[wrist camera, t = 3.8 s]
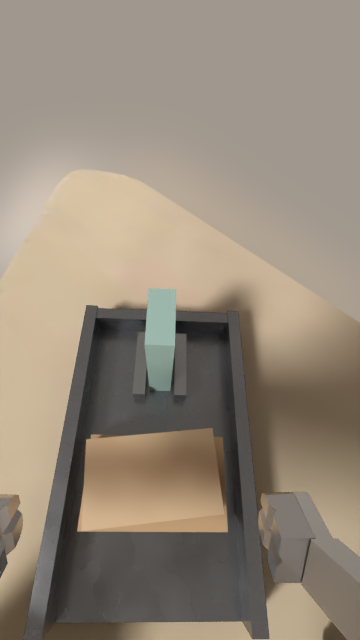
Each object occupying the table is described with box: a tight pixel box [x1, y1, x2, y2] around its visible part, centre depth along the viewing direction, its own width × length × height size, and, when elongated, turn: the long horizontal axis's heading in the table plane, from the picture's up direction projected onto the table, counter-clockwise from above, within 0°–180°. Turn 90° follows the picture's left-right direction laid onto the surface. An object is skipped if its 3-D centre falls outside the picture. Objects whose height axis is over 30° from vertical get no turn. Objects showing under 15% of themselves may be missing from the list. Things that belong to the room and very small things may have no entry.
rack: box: [23, 305, 269, 640], centre depth 24 cm, size 22×14×3 cm, turn 179°
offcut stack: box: [77, 428, 228, 532], centre depth 21 cm, size 6×10×4 cm, turn 89°
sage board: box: [144, 288, 176, 391], centre depth 23 cm, size 4×2×10 cm, turn 179°
